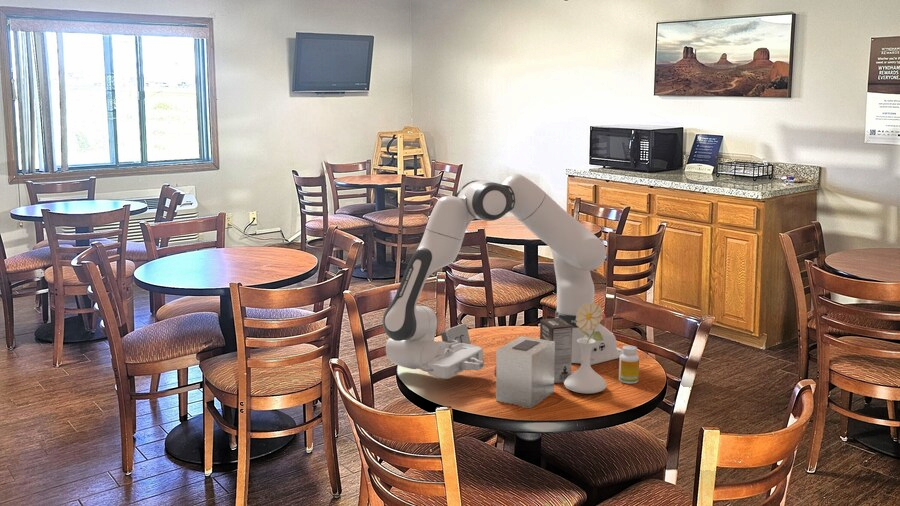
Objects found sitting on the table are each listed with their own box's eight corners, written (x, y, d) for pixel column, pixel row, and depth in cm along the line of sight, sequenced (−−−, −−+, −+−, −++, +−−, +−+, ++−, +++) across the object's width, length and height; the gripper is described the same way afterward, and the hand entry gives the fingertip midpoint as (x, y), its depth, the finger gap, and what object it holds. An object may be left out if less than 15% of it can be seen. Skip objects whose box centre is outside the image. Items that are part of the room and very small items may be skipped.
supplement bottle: (641, 383, 230) (642, 349, 228) (622, 384, 229) (624, 350, 227) (634, 377, 235) (635, 343, 233) (615, 378, 234) (617, 344, 232)
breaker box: (496, 401, 217) (496, 348, 214) (520, 385, 228) (520, 335, 226) (531, 408, 212) (531, 354, 209) (553, 391, 223) (554, 340, 221)
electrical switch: (454, 360, 250) (451, 330, 249) (440, 359, 253) (438, 329, 252) (473, 353, 257) (470, 323, 256) (459, 351, 261) (457, 322, 259)
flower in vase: (556, 385, 228) (558, 296, 223) (592, 380, 232) (595, 293, 227) (580, 402, 216) (582, 308, 211) (618, 396, 220) (621, 304, 215)
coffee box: (538, 373, 238) (539, 318, 235) (558, 371, 240) (560, 317, 237) (551, 383, 230) (552, 327, 227) (572, 381, 232) (573, 325, 229)
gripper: (417, 356, 223) (462, 365, 216) (456, 338, 240) (499, 345, 233) (417, 379, 224) (462, 388, 217) (456, 359, 241) (498, 367, 234)
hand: (481, 366), depth 225 cm, fingers closed
